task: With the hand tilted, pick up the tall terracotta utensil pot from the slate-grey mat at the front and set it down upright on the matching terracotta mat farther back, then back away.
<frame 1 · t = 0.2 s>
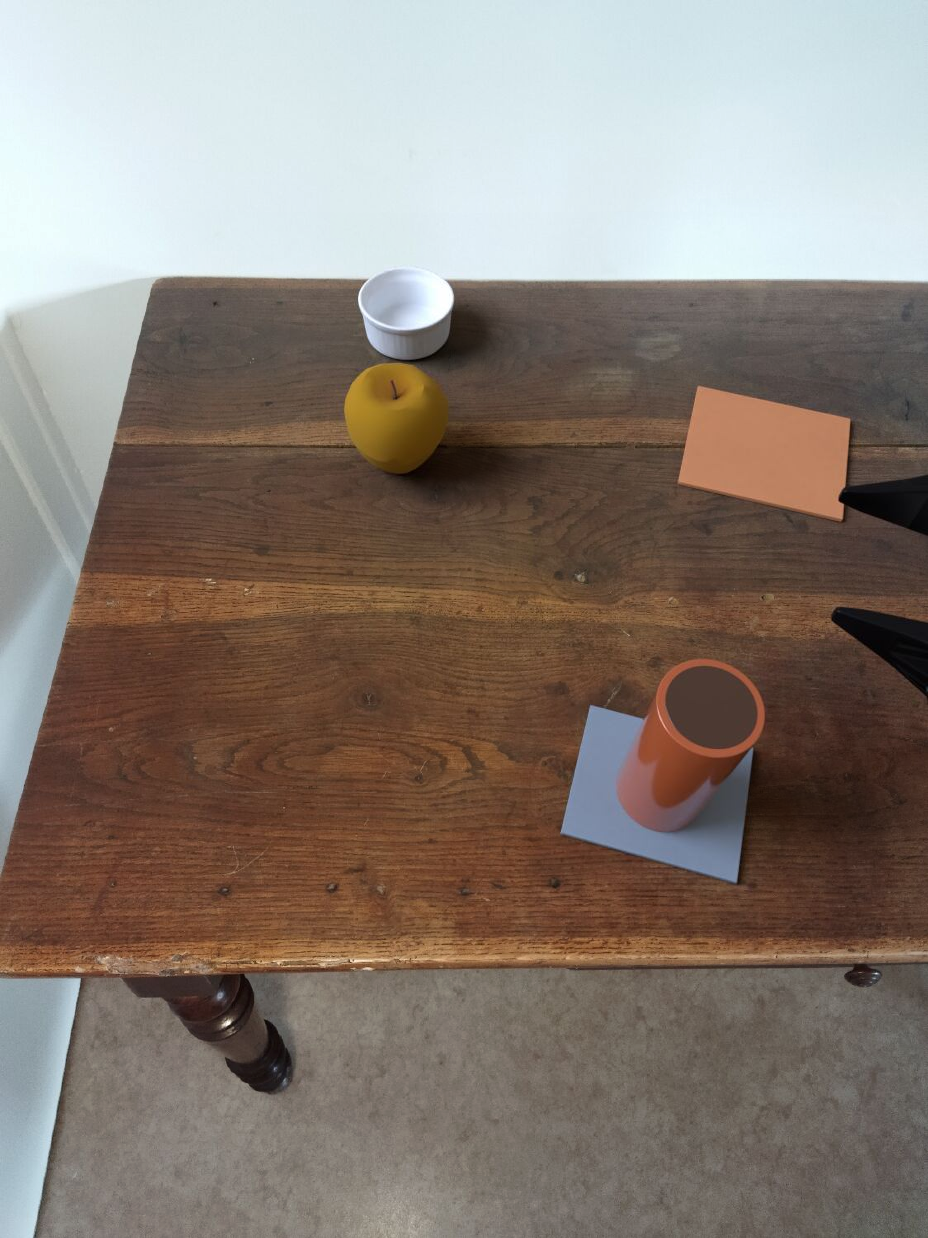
hand: (837, 551, 54), 16 cm above the table, tool horizontal, fingers open, 9 cm apart
ramekin: (408, 335, 86), on the table
terracotta pot: (660, 789, 62), resting on slate mat
slate mat: (658, 791, 62), on the table
apple: (399, 457, 78), on the table
terracotta mat: (765, 452, 79), on the table
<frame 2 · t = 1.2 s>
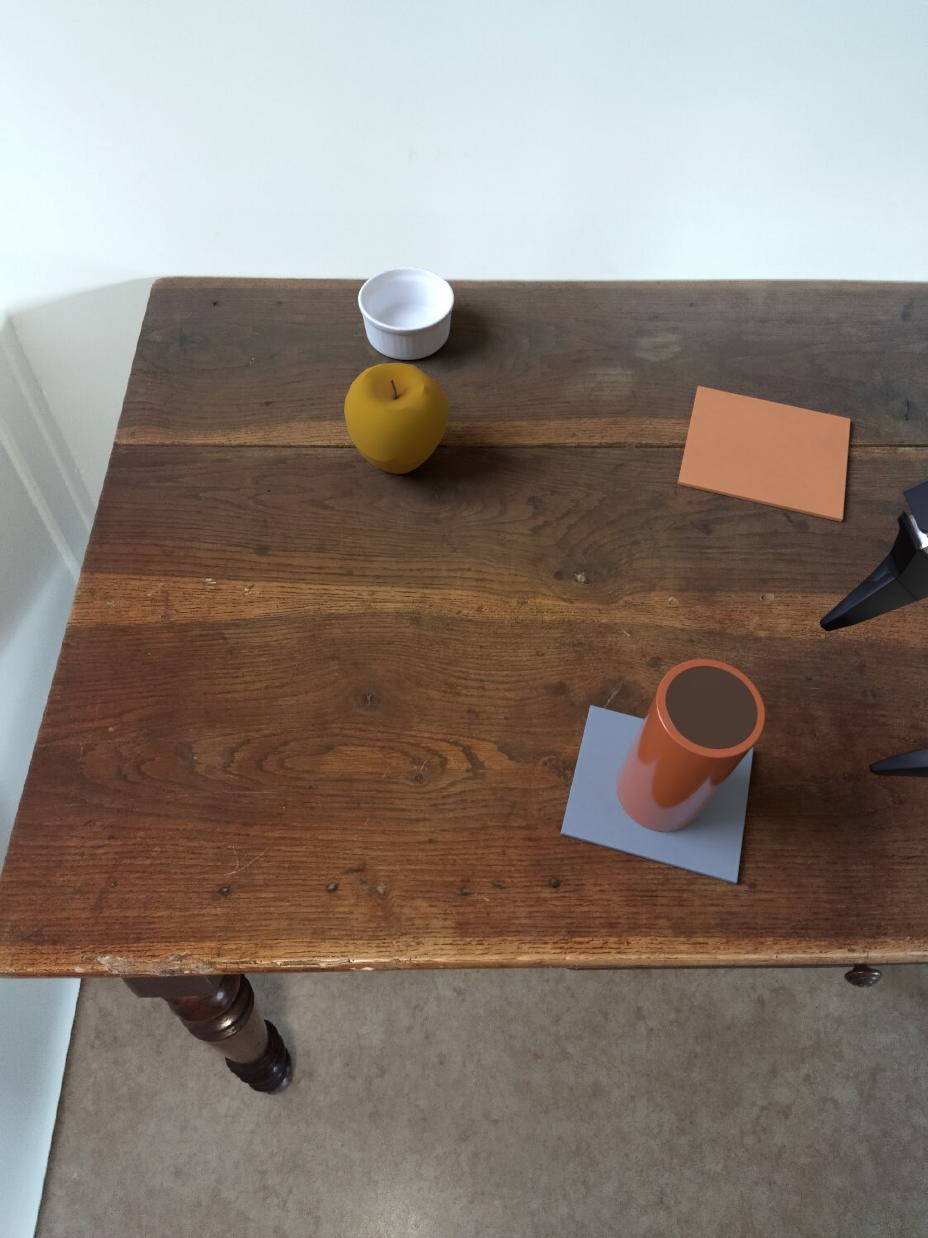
hand: (846, 695, 51), 14 cm above the table, tool tilted 45°, fingers open, 9 cm apart
nothing on the table moved.
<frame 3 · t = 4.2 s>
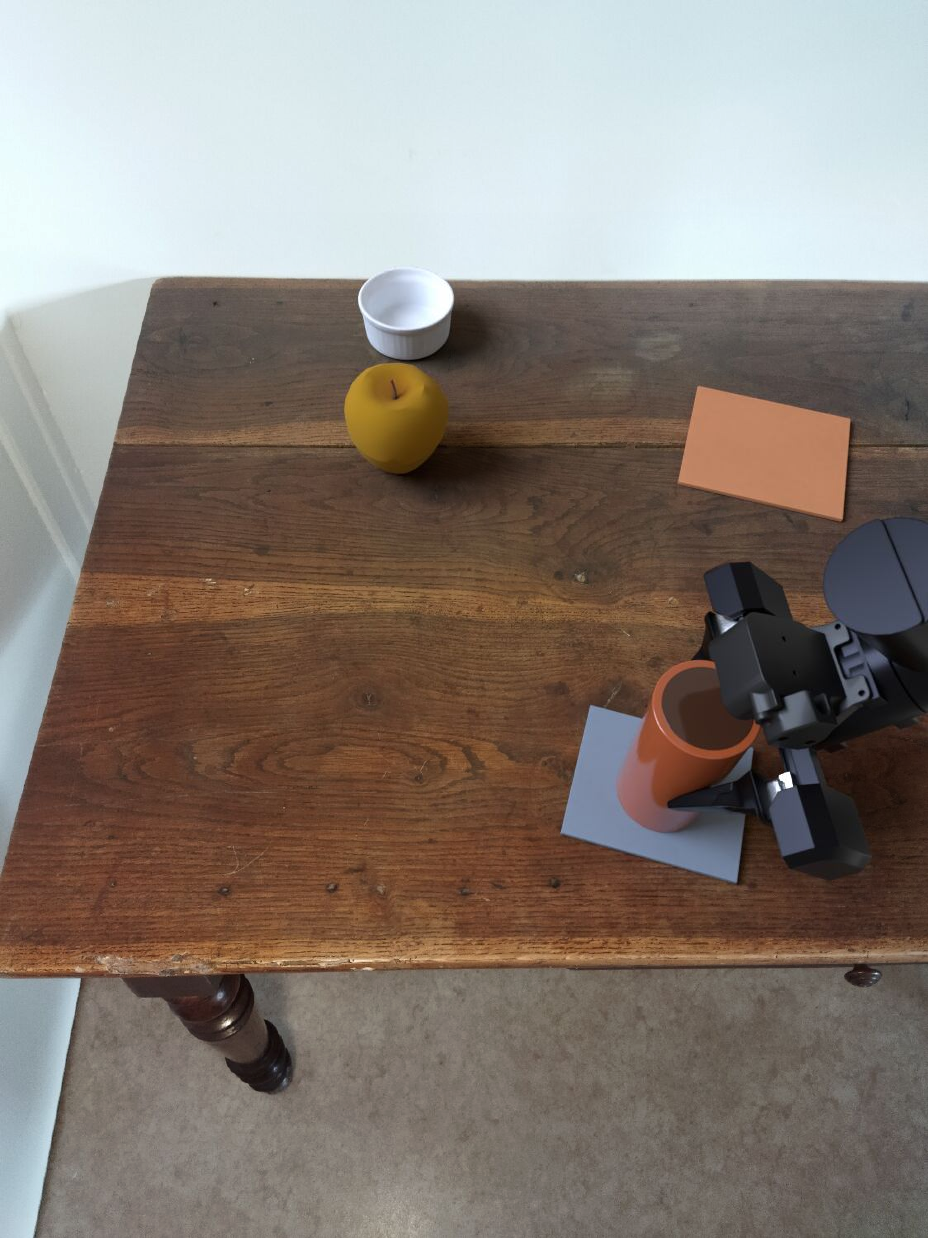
hand: (659, 757, 56), 7 cm above the table, tool tilted 45°, fingers closed on terracotta pot, 6 cm apart
terracotta pot: (660, 789, 62), resting on slate mat, touching gripper
everything else where it was.
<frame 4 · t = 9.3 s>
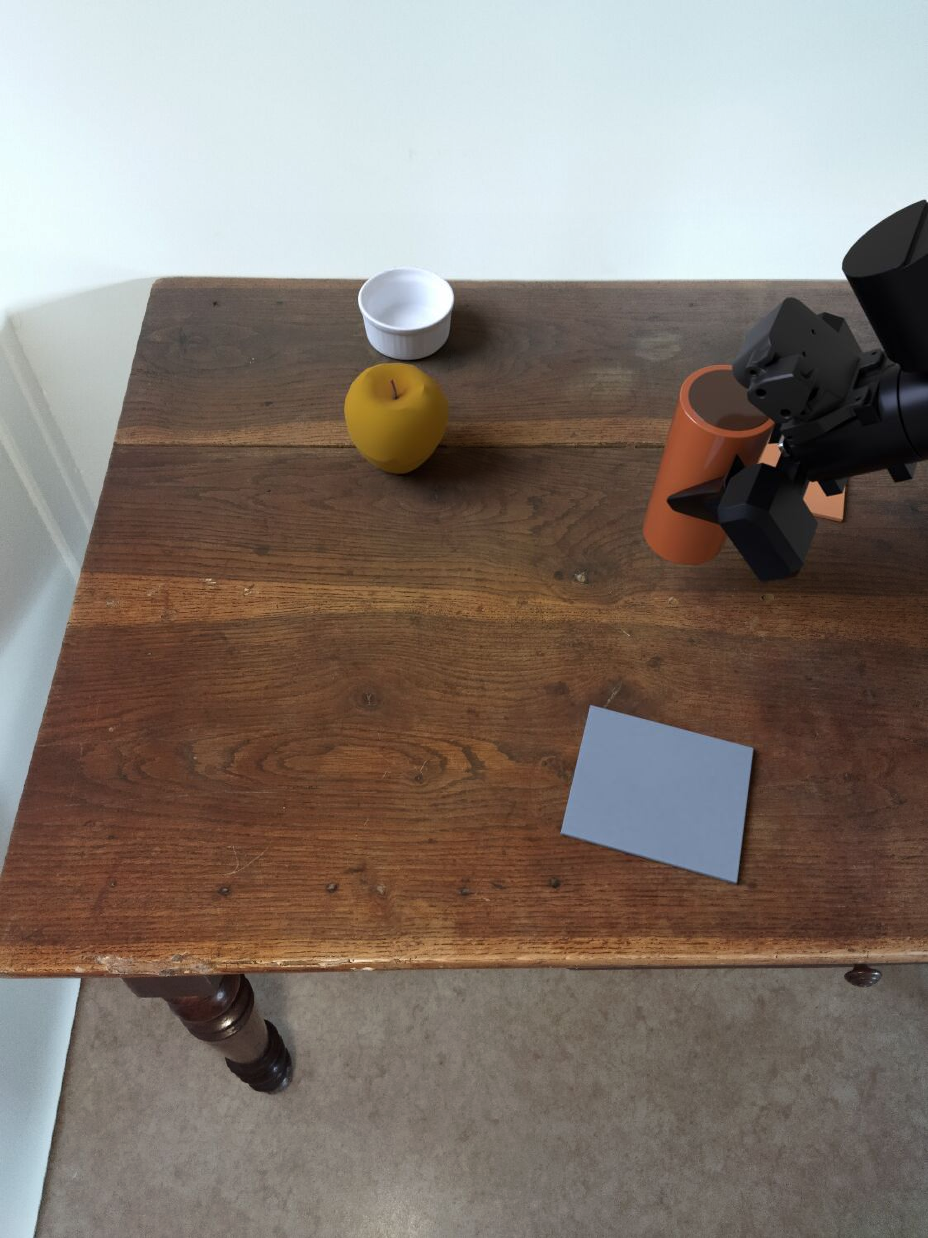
hand: (685, 470, 61), 12 cm above the table, tool tilted 45°, fingers closed on terracotta pot, 6 cm apart
terracotta pot: (684, 531, 66), point 6 cm above the table, touching gripper
everything else where it was.
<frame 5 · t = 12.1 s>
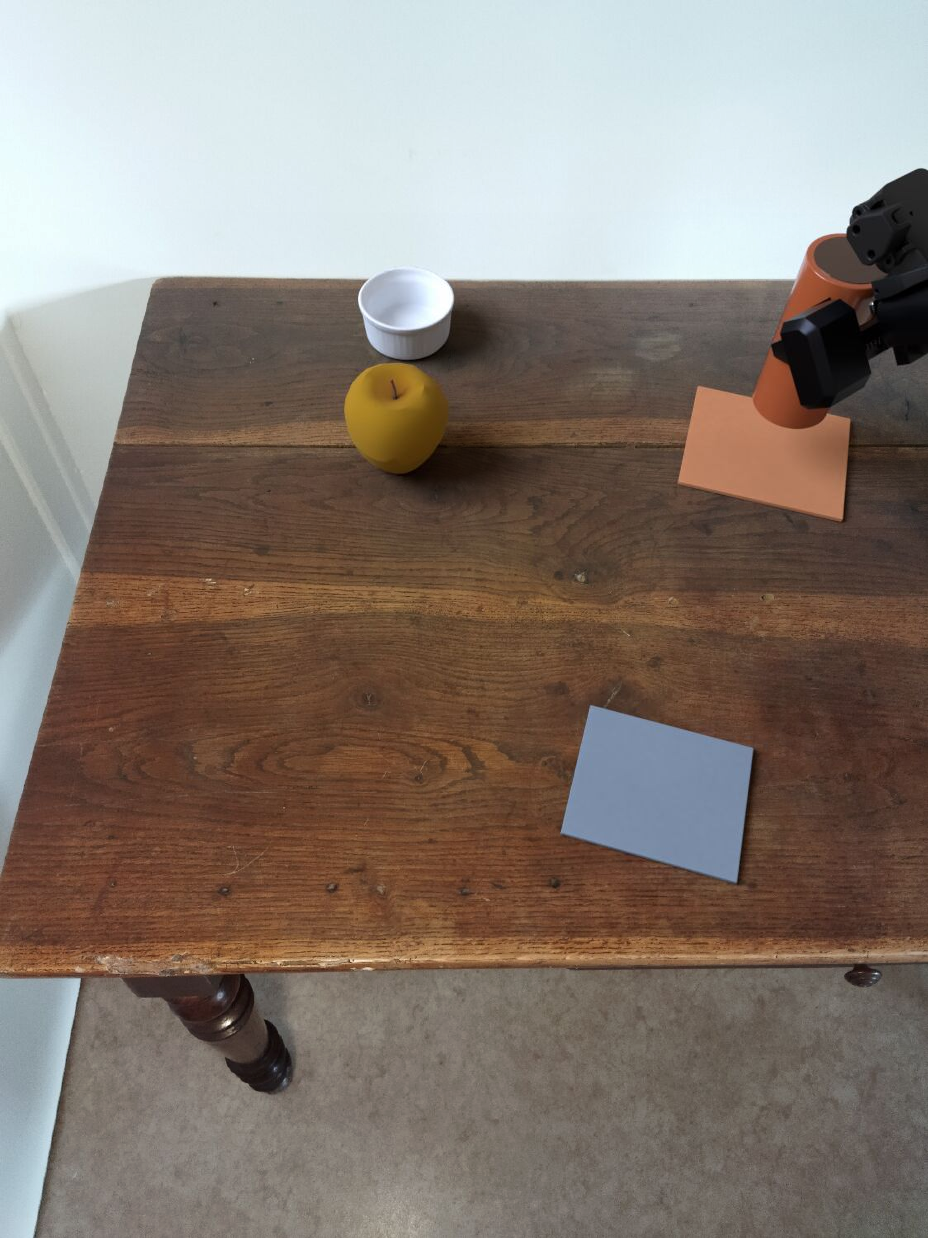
hand: (803, 333, 69), 12 cm above the table, tool tilted 45°, fingers closed on terracotta pot, 6 cm apart
terracotta pot: (789, 402, 73), point 6 cm above the table, touching gripper
everything else where it was.
when the fingers open (7 cm above the table, at t = 14.4 s): terracotta pot stays where it is, resting on terracotta mat.
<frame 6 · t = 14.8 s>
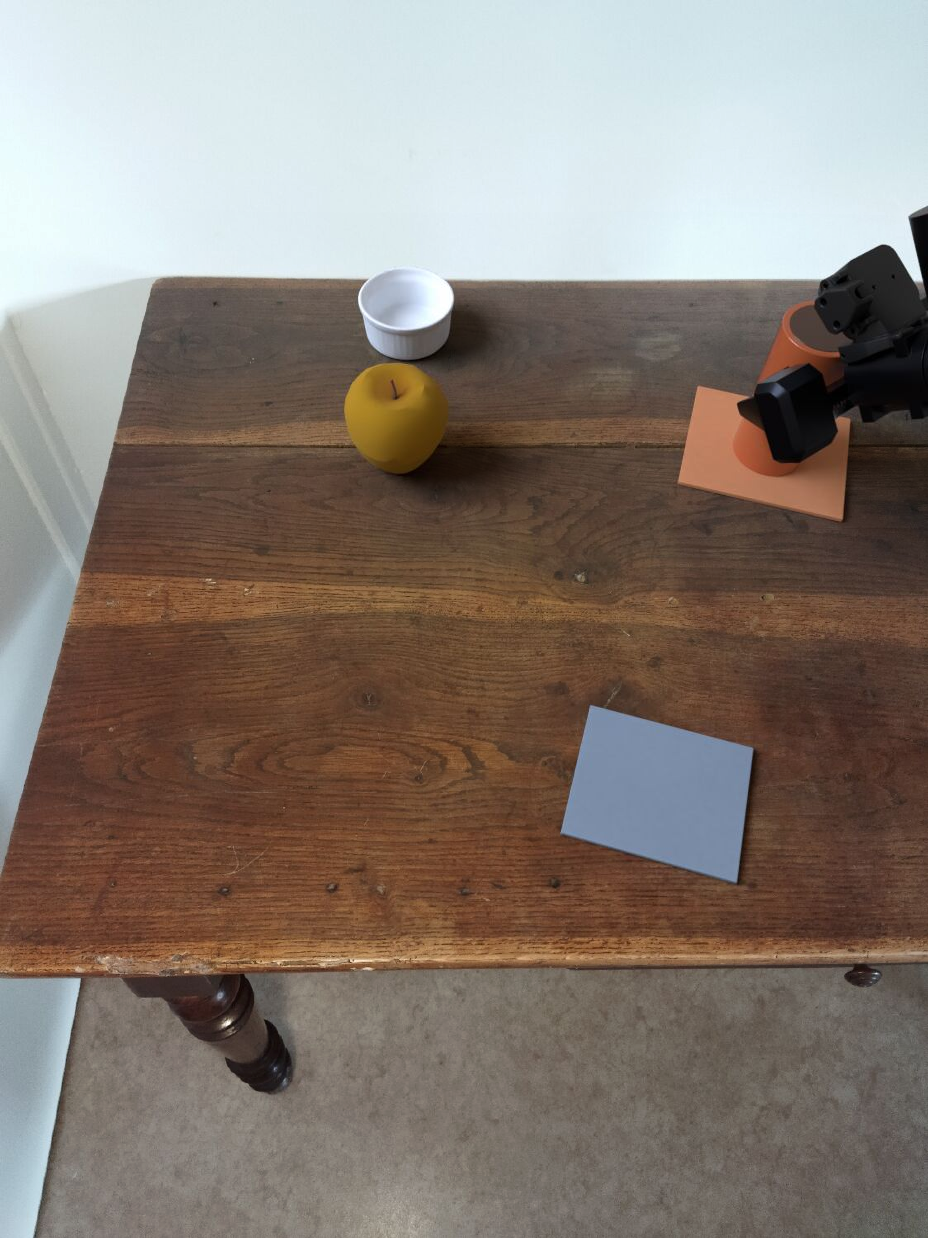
hand: (779, 385, 73), 7 cm above the table, tool tilted 45°, fingers open, 9 cm apart
terracotta pot: (767, 449, 78), resting on terracotta mat
everything else where it was.
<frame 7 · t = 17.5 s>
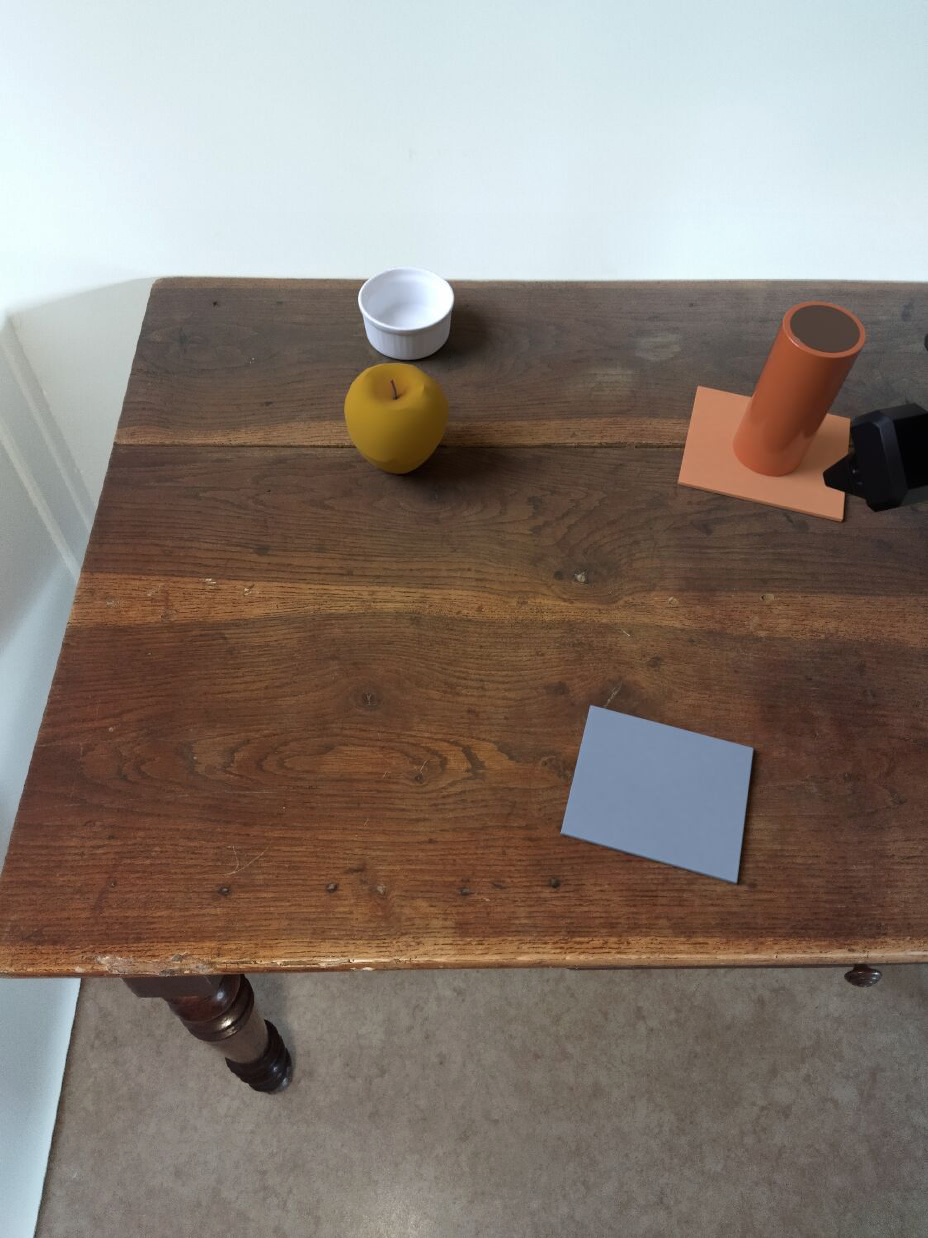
hand: (870, 468, 66), 9 cm above the table, tool tilted 35°, fingers open, 9 cm apart
nothing on the table moved.
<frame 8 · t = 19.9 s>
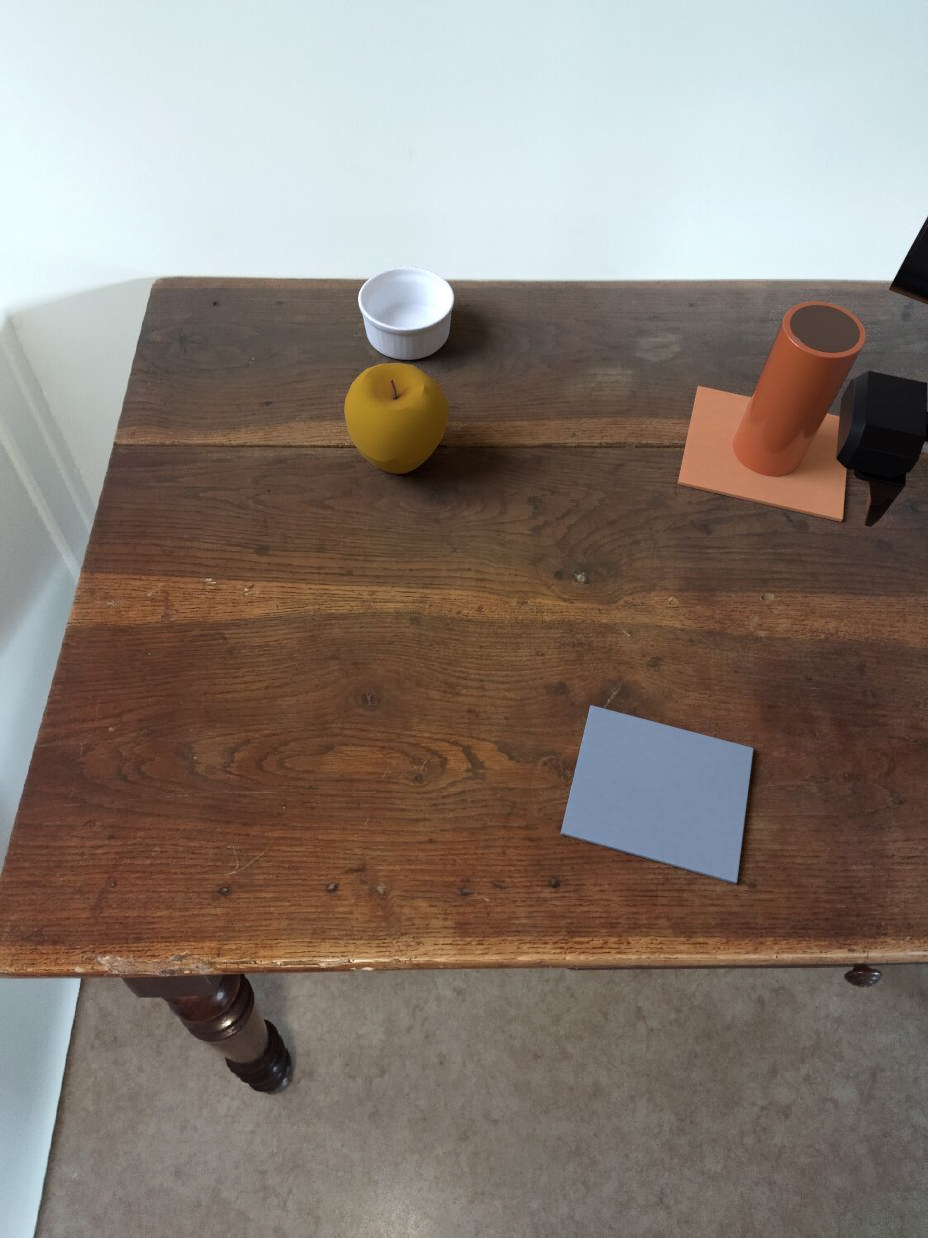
nothing on the table moved.
at the end: terracotta pot inside the target area on the terracotta mat (0.1 cm from its centre), point 0.4 cm above the terracotta mat's base; terracotta pot tilted 0°; the gripper is holding nothing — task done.
